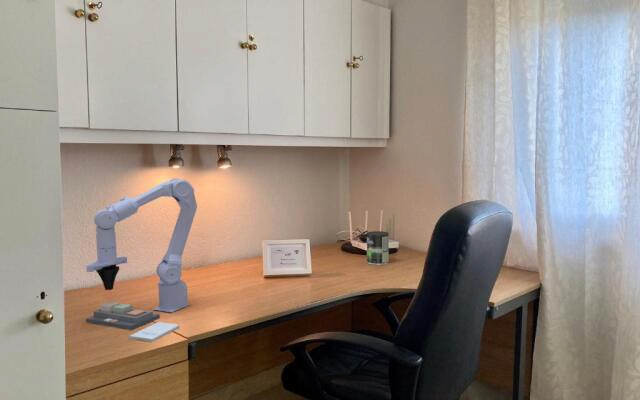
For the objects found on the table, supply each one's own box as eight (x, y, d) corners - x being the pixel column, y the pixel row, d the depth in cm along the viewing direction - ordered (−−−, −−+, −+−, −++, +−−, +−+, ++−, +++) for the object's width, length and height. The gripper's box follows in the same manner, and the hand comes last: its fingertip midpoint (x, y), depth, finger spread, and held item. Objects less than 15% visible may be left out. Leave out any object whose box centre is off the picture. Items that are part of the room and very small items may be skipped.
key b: (123, 309, 167) (122, 303, 166) (132, 311, 165) (132, 304, 165) (113, 313, 163) (112, 307, 163) (122, 314, 161) (122, 308, 161)
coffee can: (372, 265, 235) (371, 235, 234) (363, 261, 245) (363, 232, 244) (392, 264, 238) (392, 233, 237) (383, 259, 248) (383, 230, 247)
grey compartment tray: (116, 311, 174) (115, 303, 173) (159, 318, 166) (159, 309, 165) (86, 322, 163) (85, 313, 163) (131, 330, 155) (130, 320, 155)
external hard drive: (179, 329, 156) (152, 344, 144) (157, 326, 159) (128, 340, 148) (179, 324, 156) (151, 338, 144) (157, 321, 159) (128, 335, 147)
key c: (136, 315, 164) (135, 309, 164) (145, 317, 163) (145, 310, 163) (126, 319, 161) (126, 313, 161) (136, 320, 159) (135, 314, 159)
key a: (110, 307, 169) (110, 301, 169) (119, 309, 167) (119, 303, 167) (100, 311, 165) (100, 305, 165) (109, 312, 164) (109, 306, 164)
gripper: (115, 243, 173) (117, 283, 174) (78, 250, 160) (81, 293, 161) (131, 244, 170) (133, 284, 171) (94, 252, 157) (97, 296, 158)
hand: (109, 289), depth 166 cm, fingers closed
